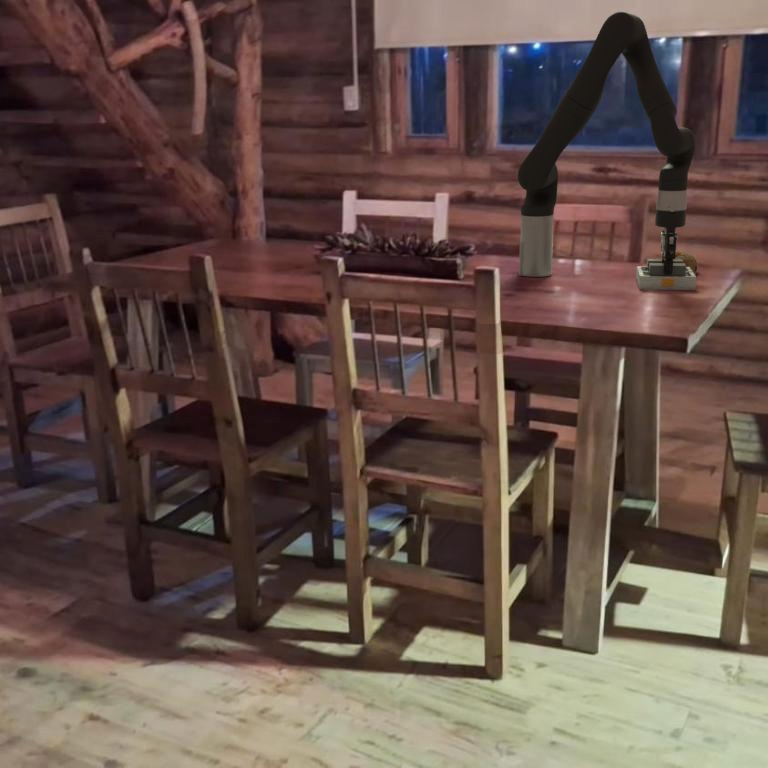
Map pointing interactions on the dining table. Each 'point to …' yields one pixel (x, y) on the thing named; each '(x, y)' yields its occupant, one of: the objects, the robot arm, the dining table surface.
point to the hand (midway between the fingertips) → (666, 271)
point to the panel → (658, 268)
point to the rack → (665, 278)
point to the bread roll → (687, 260)
